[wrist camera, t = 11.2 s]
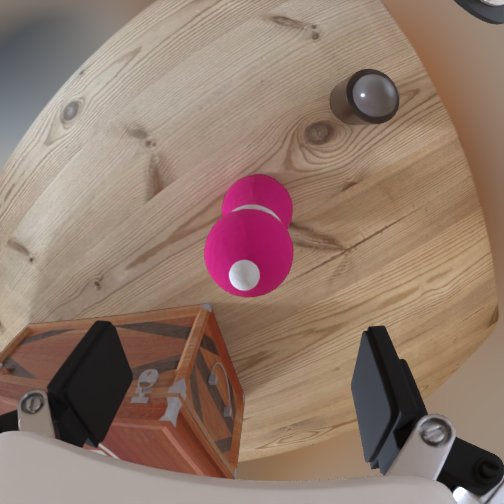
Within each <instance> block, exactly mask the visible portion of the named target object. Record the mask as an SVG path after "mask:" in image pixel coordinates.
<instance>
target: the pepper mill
mask: <svg viewBox="0 0 504 504" xmlns="http://www.w3.org/2000/svg"><path fill="white" fill-rule="evenodd" d="M222 216H223V217H222V218H221V219H219V220H218V221H217V223H216V224H215V225H214V226H213V227H212V229H211V231H210V233H209V235H208V237H207V240H206V244H205V249H204V257H205V263H206V266H207V269H208V271H209V274H210V275H211V277H212V279H213V280H214V281H215V282H216V283H217V284H218V285H219V286H220V287H221V288H223V289H224V290H225V291H227V292H229V293H231V294H233V295H236V296H241V297H257V296H261V295H264V294H267V293H269V292H271V291H273V290H274V289H276V288H277V287H278V286H279V285H280V284H281V283H282V282H283V281H284V280H285V278H286V277H287V275H288V273H289V271H290V268H291V266H292V260H293V244H292V241H291V238H290V235H289V233H288V231H287V229H288V227H289V225H290V222H291V219H292V201H291V198H290V195H289V193H288V192H287V190H286V189H285V188H284V186H283V185H282V184H280V183H279V182H278V181H276V180H275V179H274V178H272V177H270V176H267V175H262V174H256V175H251V176H247V177H244V178H242V179H240V180H238V181H237V182H235V183H234V184H233V185H232V186H231V187H230V188H229V190H228V191H227V193H226V195H225V198H224V201H223V206H222Z"/></svg>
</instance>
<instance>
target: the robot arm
mask: <svg viewBox="0 0 504 504" xmlns="http://www.w3.org/2000/svg"><path fill="white" fill-rule="evenodd" d="M480 1H481V2H483V3H485V4H487V5H490V6H496V7H497V6H501V5H503V4H504V0H480ZM132 380H133V373H132V370H131V368H130V365H129V363H128V360H127V357H126V355H125V352H124V349H123V347H122V344H121V341H120V338H119V335H118V332H117V329H116V327H115V326H114V325H113V324H112V323H111V322H110V321H103V320H97V321H95V323H94V324H93V325H92V326H91V328H90V329H89V330H88V331H87V333H86V334H85V335H84V337H83V338H82V339H81V340H80V342H79V343H78V344H77V346H76V347H75V348H74V350H73V351H72V352H71V354H70V355H69V356H68V358H67V359H66V360H65V362H64V363H63V364H62V366H61V367H60V368H59V370H58V371H57V373H56V374H55V375H54V377H53V378H52V380H51V381H50V382H49V384H48V385H47V387H46V388H47V390H48V392H47V393H45V392H44V391H42V390H38V389H34V390H30V391H28V392H26V393H25V394H23V395H22V396H21V398H20V399H19V401H18V406H17V409H16V410H14V411H11V412H8V413H5V414H2V415H0V504H504V465H503V462H502V460H501V459H500V458H499V457H498V456H496V455H495V454H493V453H490V452H488V451H486V450H484V449H481V448H479V447H477V446H475V445H472V444H470V443H468V442H466V441H464V440H462V439H459V438H457V437H455V435H456V431H455V426H454V425H453V423H452V422H451V421H450V420H449V419H448V418H446V417H445V416H443V415H439V414H429V415H428V413H427V410H426V408H425V405H424V403H423V400H422V398H421V395H420V393H419V390H418V388H417V385H416V383H415V380H414V378H413V376H412V373H411V371H410V368H409V366H408V364H407V362H406V360H404V359H399V358H398V355H397V353H396V351H395V348H394V346H393V344H392V341H391V339H390V337H389V335H388V332H387V330H386V328H385V326H371V327H368V330H367V331H363V333H362V338H361V343H360V348H359V352H358V357H357V361H356V365H355V370H354V374H353V378H352V382H351V389H352V395H353V399H354V404H355V409H356V414H357V419H358V424H359V430H360V434H361V440H362V446H363V452H364V458H365V461H366V462H370V465H371V469H376V468H380V473H381V474H383V475H382V476H367V477H356V478H345V479H332V480H316V481H315V480H313V481H254V480H236V479H225V478H215V477H207V476H199V475H192V474H185V473H179V472H173V471H168V470H163V469H158V468H153V467H148V466H144V465H139V464H135V463H131V462H127V461H123V460H120V459H116V458H112V457H109V456H106V455H102V454H99V453H96V452H93V451H90V450H87V449H83V446H84V444H86V445H88V446H91V447H94V448H98V445H99V443H101V442H103V441H104V439H105V437H106V435H107V432H108V430H109V428H110V426H111V424H112V422H113V420H114V418H115V416H116V413H117V411H118V409H119V407H120V405H121V403H122V401H123V399H124V397H125V395H126V393H127V391H128V389H129V387H130V385H131V383H132Z"/></svg>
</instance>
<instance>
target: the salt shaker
mask: <svg viewBox="0 0 504 504" xmlns="http://www.w3.org/2000/svg"><path fill="white" fill-rule="evenodd" d="M330 106H331V109H332V111H333V113H334V115H335V116H336V117H337V118H338V119H339V120H341V121H342V122H344V123H347V124H352V125H357V124H380V123H384V122H386V121H388V120H390V119H391V118H392V117H393V116H394V115H395V114H396V112H397V110H398V107H399V93H398V90H397V88H396V86H395V84H394V82H393V81H392V80H391V79H390V78H389V77H388V76H387V75H385V74H384V73H382V72H380V71H377V70H373V69H364V70H361V71H358V72H356V73H355V74H353V75H352V76H350V77H349V78H347V79H346V80H344V81H343V82H341V83H340V84H338V85H337V86H336V87H335V88H334V89H333V91H332V92H331V95H330Z"/></svg>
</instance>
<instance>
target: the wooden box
mask: <svg viewBox="0 0 504 504" xmlns="http://www.w3.org/2000/svg"><path fill="white" fill-rule="evenodd" d="M97 320H103V321H110V322H111V323H112V324H113V325H114V326H115V327H116V329H117V332H118V335H119V338H120V341H121V344H122V347H123V349H124V352H125V355H126V357H127V360H128V363H129V365H130V368H131V370H132V373H133V380H132V383H131V385H130V387H129V389H128V391H127V393H126V395H125V397H124V399H123V401H122V403H121V405H120V407H119V409H118V411H117V413H116V416H115V418H114V420H113V422H112V424H111V426H110V428H109V430H108V432H107V435H106V437H105V439H104V441H103V442H101V443H99V445H98V448H94V447H91V446H88V445H86V444H84V446H83V449H87V450H90V451H93V452H96V453H99V454H102V455H106V456H109V457H112V458H116V459H120V460H123V461H127V462H131V463H135V464H139V465H144V466H148V467H153V468H158V469H163V470H168V471H173V472H179V473H185V474H192V475H199V476H207V477H215V478H225V479H236V474H237V463H238V455H239V447H240V438H241V430H242V421H243V413H244V404H245V396H244V393H243V390H242V388H241V385H240V383H239V380H238V378H237V375H236V373H235V370H234V367H233V365H232V362H231V359H230V357H229V354H228V351H227V349H226V346H225V343H224V341H223V338H222V335H221V332H220V329H219V327H218V324H217V321H216V318H215V315H214V313H213V310H212V307H211V304H210V303H204V304H198V305H191V306H184V307H177V308H170V309H162V310H155V311H147V312H139V313H131V314H123V315H114V316H105V317H96V318H87V319H77V320H67V321H56V322H45V323H33V324H28V325H27V326H26V327H24V328H23V330H22V331H21V332H20V333H19V334H18V335H17V336H16V337H15V338H14V339H13V340H12V341H11V342H10V343H9V344H8V345H7V346H6V347H5V349H4V350H3V351H2V352H1V353H0V415H2V414H5V413H8V412H11V411H14V410H16V409H17V406H18V401H19V399H20V398H21V396H22V395H23V394H25V393H26V392H28V391H30V390H34V389H38V390H42V391H44V392H45V393H47V392H48V390H47V388H46V387H47V385H48V384H49V382H50V381H51V380H52V378H53V377H54V375H55V374H56V373H57V371H58V370H59V368H60V367H61V366H62V364H63V363H64V362H65V360H66V359H67V358H68V356H69V355H70V354H71V352H72V351H73V350H74V348H75V347H76V346H77V344H78V343H79V342H80V340H81V339H82V338H83V337H84V335H85V334H86V333H87V331H88V330H89V329H90V328H91V326H92V325H93V324H94V323H95V321H97Z"/></svg>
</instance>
